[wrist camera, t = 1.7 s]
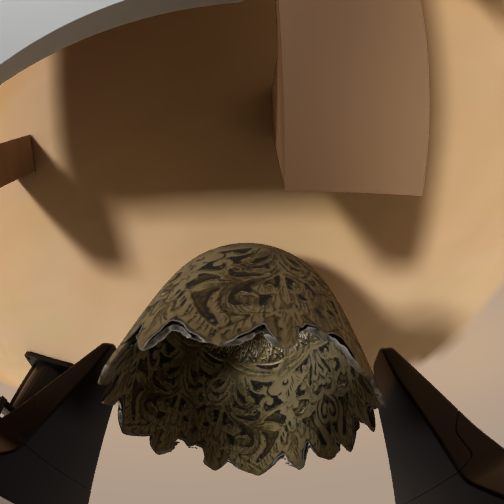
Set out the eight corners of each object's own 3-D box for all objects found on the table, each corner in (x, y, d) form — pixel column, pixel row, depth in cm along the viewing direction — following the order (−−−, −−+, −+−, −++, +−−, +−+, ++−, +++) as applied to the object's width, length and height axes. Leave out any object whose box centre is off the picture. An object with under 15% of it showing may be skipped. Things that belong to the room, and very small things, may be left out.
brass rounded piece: (365, 256, 12) (436, 406, 5) (272, 350, 15) (269, 485, 8) (225, 160, 11) (145, 267, 4) (151, 286, 14) (83, 421, 7)
